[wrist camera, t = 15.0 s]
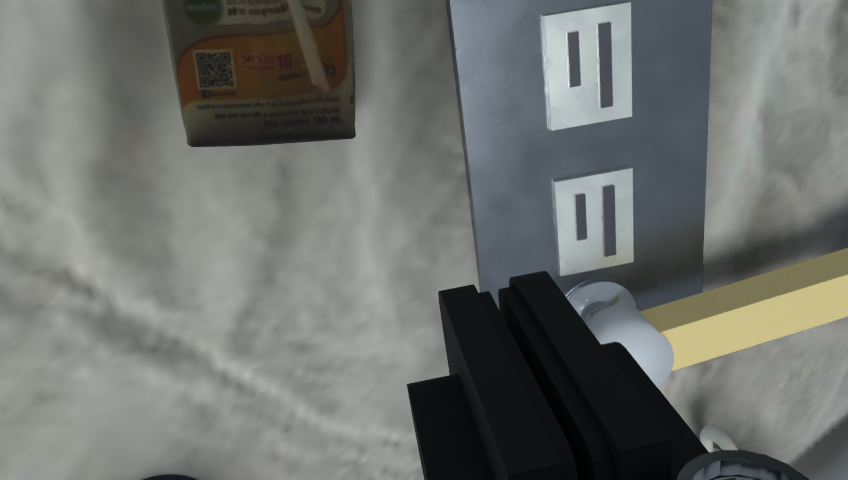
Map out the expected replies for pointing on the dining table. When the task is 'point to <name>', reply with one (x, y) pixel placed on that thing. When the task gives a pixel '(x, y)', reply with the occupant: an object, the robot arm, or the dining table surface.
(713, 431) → the mug
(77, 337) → the dining table surface
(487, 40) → the chassis
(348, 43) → the beverage carton
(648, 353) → the swing arm
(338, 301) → the dining table surface
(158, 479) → the travel mug
